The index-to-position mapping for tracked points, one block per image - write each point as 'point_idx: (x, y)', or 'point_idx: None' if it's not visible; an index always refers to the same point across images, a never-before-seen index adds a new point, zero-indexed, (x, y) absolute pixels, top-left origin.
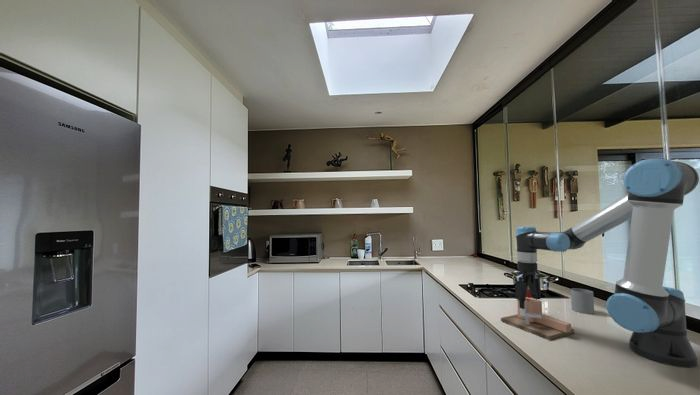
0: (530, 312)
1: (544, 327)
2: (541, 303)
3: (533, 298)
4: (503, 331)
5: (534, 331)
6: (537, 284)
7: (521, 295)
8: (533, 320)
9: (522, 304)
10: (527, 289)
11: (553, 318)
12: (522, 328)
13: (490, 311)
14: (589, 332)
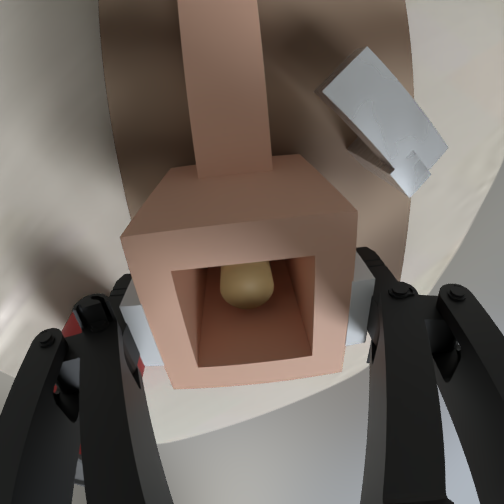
0: (392, 150)
1: (291, 61)
2: (133, 222)
3: (138, 343)
4: (492, 173)
5: (409, 63)
6: (23, 492)
7: (481, 326)
8: (291, 157)
9: (388, 271)
10: (78, 457)
11: (193, 36)
12: None
13: (299, 387)
14: (19, 11)
